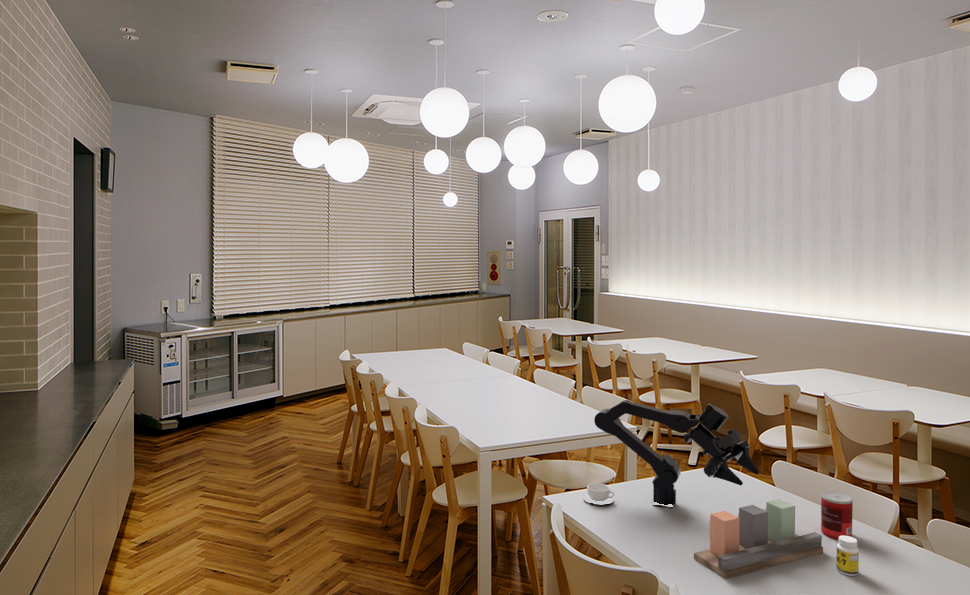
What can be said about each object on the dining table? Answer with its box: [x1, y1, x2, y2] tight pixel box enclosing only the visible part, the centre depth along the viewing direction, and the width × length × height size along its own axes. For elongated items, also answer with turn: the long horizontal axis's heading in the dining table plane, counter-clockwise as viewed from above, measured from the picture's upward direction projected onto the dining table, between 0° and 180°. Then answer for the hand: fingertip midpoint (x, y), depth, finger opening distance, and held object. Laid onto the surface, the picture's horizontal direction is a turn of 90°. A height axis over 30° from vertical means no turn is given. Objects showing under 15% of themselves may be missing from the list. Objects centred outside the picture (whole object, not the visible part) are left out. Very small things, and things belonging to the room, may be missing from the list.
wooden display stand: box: [693, 532, 824, 580], centre depth 154 cm, size 11×34×4 cm, turn 112°
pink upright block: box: [709, 510, 739, 556], centre depth 152 cm, size 6×5×10 cm
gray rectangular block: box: [737, 504, 768, 549], centre depth 156 cm, size 6×5×10 cm
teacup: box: [586, 482, 615, 501], centre depth 192 cm, size 10×10×5 cm
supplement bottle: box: [835, 535, 860, 577], centre depth 145 cm, size 5×5×8 cm
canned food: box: [820, 491, 854, 541], centre depth 166 cm, size 8×8×11 cm
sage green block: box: [764, 499, 796, 542], centre depth 160 cm, size 6×5×10 cm
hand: (750, 478), depth 172 cm, fingers open, 9 cm apart
